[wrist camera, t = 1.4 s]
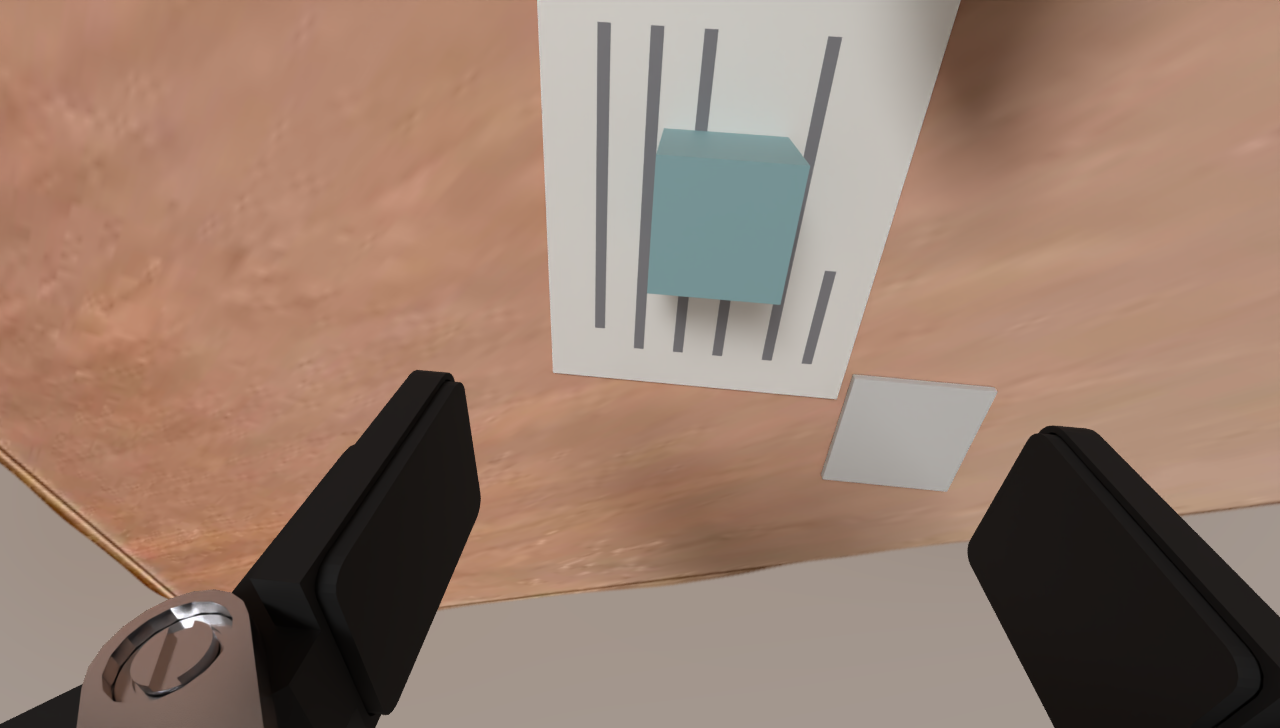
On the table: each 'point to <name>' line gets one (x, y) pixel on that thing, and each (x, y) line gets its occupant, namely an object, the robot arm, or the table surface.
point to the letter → (731, 103)
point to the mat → (905, 432)
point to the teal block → (724, 215)
